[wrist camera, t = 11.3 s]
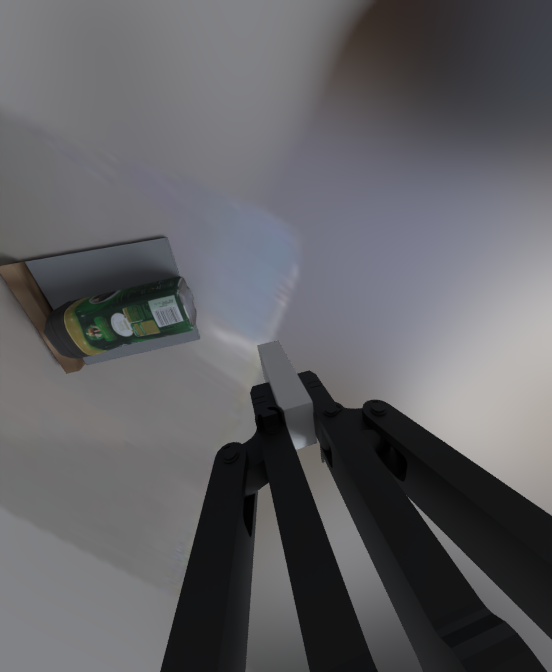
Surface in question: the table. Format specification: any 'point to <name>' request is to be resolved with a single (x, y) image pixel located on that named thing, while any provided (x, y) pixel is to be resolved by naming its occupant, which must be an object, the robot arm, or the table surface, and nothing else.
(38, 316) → the walnut stop strip
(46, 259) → the rubber mat
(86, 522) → the table surface
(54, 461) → the table surface
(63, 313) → the coffee jar
